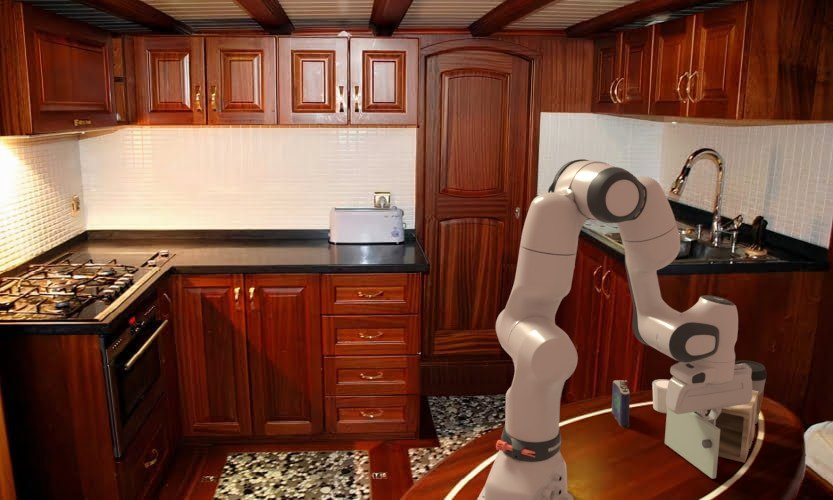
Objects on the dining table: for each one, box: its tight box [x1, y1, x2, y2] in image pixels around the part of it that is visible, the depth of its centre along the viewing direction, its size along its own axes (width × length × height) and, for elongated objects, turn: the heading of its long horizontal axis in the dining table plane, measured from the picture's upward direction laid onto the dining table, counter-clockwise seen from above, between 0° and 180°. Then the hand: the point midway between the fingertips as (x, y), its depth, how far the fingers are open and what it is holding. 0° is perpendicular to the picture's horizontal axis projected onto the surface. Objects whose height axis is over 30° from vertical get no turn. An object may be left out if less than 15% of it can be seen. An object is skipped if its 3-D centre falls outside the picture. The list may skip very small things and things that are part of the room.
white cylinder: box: [651, 378, 670, 414], centre depth 187 cm, size 7×7×7 cm
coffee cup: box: [735, 359, 768, 424], centre depth 179 cm, size 8×8×15 cm
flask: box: [611, 379, 631, 428], centre depth 181 cm, size 9×3×11 cm, turn 1°
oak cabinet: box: [694, 390, 759, 463], centre depth 169 cm, size 14×17×12 cm
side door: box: [664, 407, 720, 479], centre depth 159 cm, size 2×17×12 cm, turn 17°
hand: (707, 425), depth 159 cm, fingers closed
